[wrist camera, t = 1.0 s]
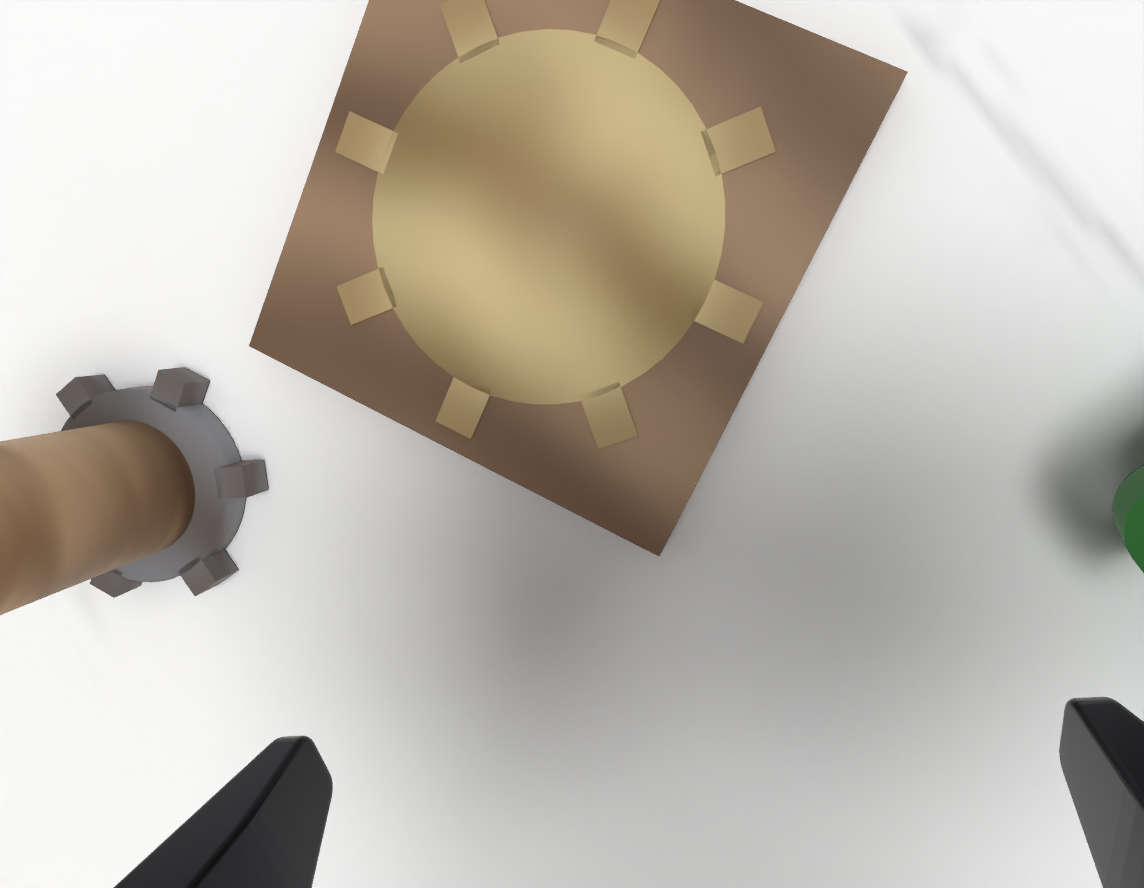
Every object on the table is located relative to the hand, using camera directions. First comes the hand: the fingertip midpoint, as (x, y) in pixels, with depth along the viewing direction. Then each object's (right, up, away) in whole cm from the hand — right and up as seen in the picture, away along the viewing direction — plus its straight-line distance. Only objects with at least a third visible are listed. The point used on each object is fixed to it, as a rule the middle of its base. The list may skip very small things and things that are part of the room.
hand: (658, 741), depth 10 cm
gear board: (-2, +10, +13) cm, 17 cm away
